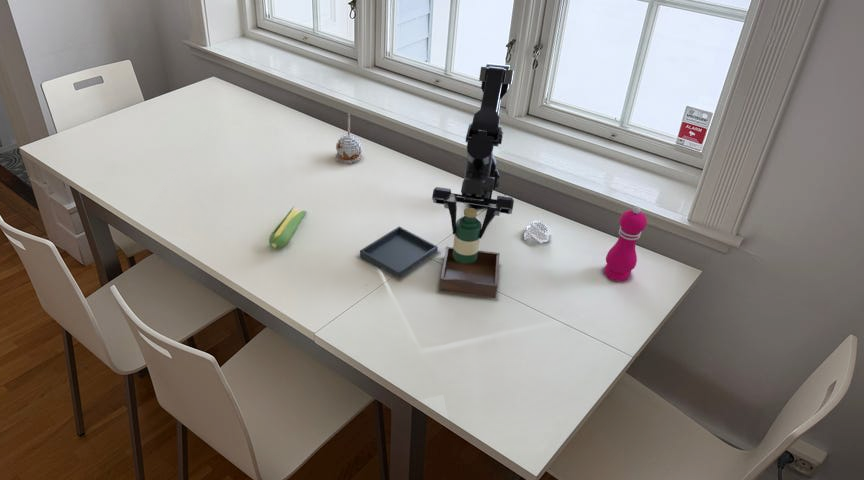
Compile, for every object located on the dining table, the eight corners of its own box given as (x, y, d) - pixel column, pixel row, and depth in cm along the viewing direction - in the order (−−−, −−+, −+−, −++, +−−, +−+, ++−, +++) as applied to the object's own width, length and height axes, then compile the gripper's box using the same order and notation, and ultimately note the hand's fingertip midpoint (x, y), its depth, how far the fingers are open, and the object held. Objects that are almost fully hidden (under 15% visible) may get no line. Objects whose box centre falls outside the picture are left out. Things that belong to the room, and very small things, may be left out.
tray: (398, 232, 178) (399, 226, 177) (437, 253, 172) (437, 246, 170) (359, 257, 169) (359, 250, 168) (398, 279, 163) (399, 272, 161)
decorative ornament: (339, 151, 213) (338, 108, 204) (363, 153, 213) (363, 110, 203) (334, 163, 207) (333, 118, 198) (359, 165, 206) (359, 121, 197)
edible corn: (265, 251, 170) (263, 237, 167) (294, 211, 185) (293, 197, 183) (283, 255, 169) (282, 240, 166) (311, 214, 184) (311, 200, 182)
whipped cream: (524, 230, 183) (525, 214, 180) (549, 231, 181) (550, 216, 179) (523, 245, 176) (524, 229, 173) (549, 246, 175) (550, 230, 172)
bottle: (472, 247, 163) (478, 202, 155) (481, 262, 158) (487, 216, 150) (449, 250, 162) (453, 205, 154) (457, 265, 157) (462, 220, 149)
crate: (444, 259, 170) (446, 246, 167) (497, 265, 168) (499, 252, 166) (439, 292, 159) (440, 278, 157) (495, 299, 158) (497, 286, 155)
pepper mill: (598, 265, 169) (617, 198, 157) (625, 264, 170) (646, 198, 158) (607, 283, 164) (628, 215, 151) (636, 282, 164) (659, 215, 152)
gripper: (436, 156, 150) (424, 223, 148) (519, 167, 147) (508, 236, 145) (439, 170, 161) (428, 232, 159) (516, 180, 158) (506, 244, 156)
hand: (466, 236), depth 155 cm, fingers closed on bottle, 6 cm apart
